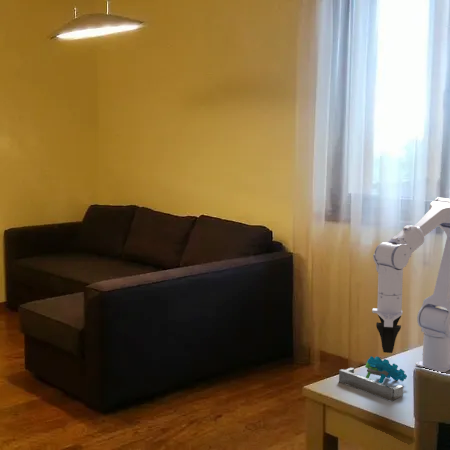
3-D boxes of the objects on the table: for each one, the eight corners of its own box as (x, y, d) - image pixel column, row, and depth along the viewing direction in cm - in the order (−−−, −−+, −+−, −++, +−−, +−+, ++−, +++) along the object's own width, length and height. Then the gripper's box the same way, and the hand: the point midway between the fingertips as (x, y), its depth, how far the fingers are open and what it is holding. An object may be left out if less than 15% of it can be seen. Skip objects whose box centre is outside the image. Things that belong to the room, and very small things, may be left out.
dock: (350, 377, 172) (351, 365, 171) (402, 396, 160) (403, 384, 159) (338, 381, 169) (339, 370, 168) (391, 401, 157) (391, 388, 157)
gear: (415, 379, 166) (394, 357, 161) (405, 400, 163) (383, 378, 159) (380, 372, 175) (359, 350, 170) (370, 392, 172) (348, 371, 168)
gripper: (374, 284, 171) (372, 336, 174) (371, 299, 157) (369, 355, 160) (403, 285, 170) (401, 338, 172) (402, 301, 156) (401, 358, 158)
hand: (388, 346), depth 166 cm, fingers open, 7 cm apart
